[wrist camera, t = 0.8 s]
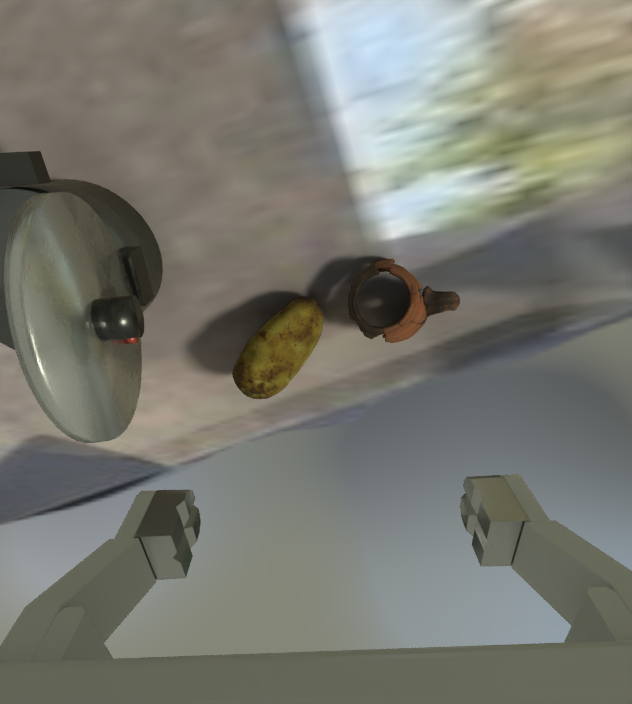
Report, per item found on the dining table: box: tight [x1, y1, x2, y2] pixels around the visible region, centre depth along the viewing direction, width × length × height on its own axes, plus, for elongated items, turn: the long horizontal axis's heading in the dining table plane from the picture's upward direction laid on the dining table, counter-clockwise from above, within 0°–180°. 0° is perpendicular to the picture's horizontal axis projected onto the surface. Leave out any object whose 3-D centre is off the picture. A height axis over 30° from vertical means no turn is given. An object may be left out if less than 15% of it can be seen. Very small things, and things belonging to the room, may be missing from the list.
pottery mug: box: [348, 259, 460, 343], centre depth 43 cm, size 12×9×8 cm
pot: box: [0, 151, 163, 350], centre depth 39 cm, size 21×17×10 cm
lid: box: [4, 192, 144, 443], centre depth 27 cm, size 17×17×3 cm
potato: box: [233, 297, 323, 399], centre depth 45 cm, size 8×13×8 cm, turn 121°
